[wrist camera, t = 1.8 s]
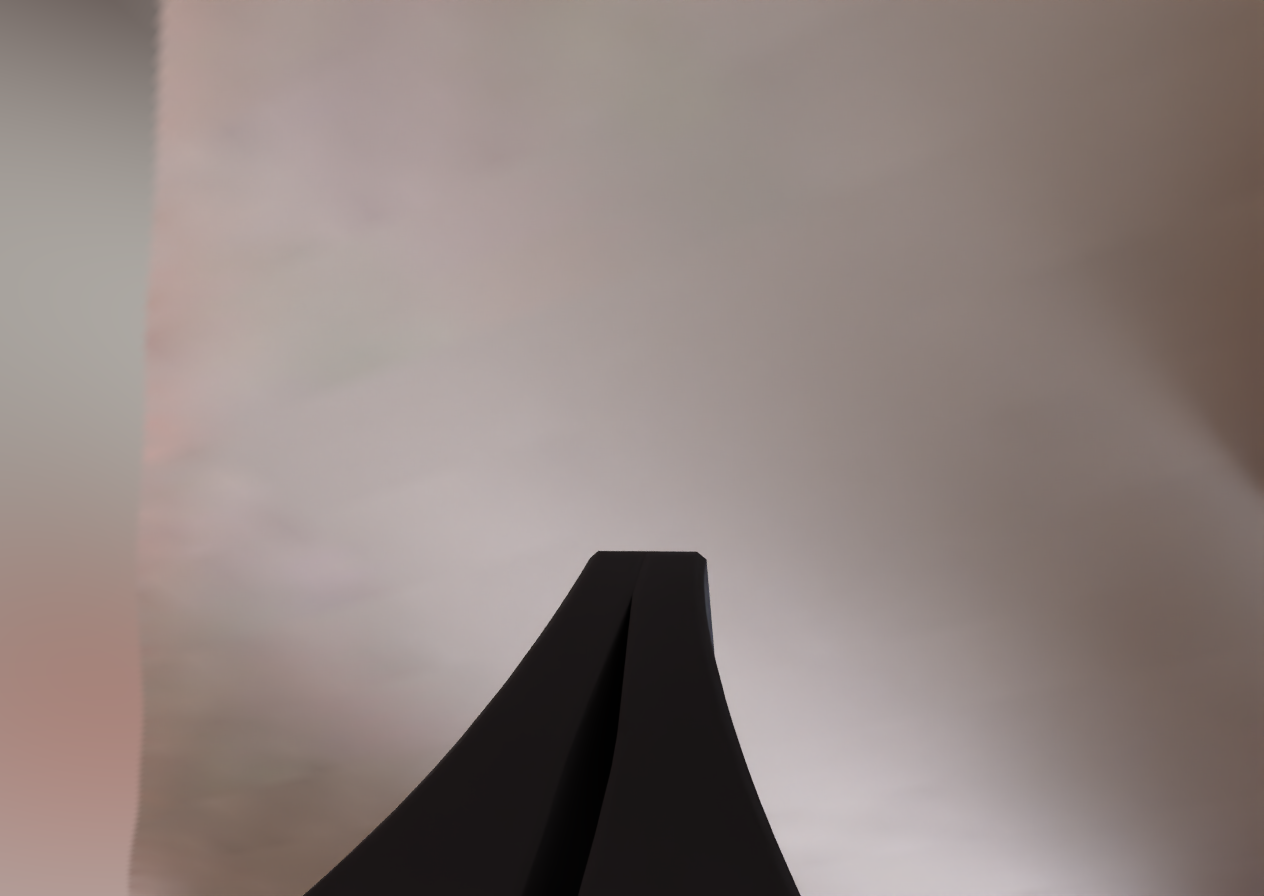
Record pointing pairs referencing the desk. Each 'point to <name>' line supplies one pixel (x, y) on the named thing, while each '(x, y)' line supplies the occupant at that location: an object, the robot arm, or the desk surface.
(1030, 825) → the desk surface
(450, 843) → the robot arm
